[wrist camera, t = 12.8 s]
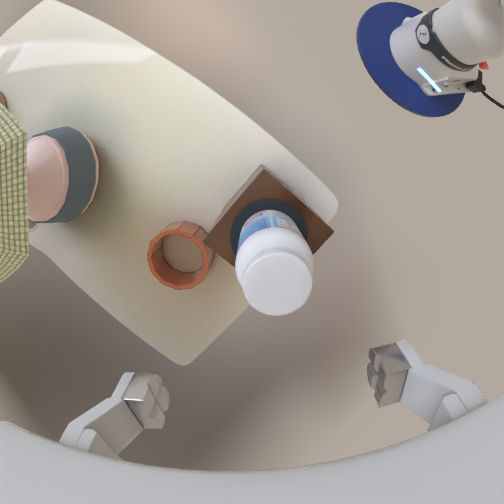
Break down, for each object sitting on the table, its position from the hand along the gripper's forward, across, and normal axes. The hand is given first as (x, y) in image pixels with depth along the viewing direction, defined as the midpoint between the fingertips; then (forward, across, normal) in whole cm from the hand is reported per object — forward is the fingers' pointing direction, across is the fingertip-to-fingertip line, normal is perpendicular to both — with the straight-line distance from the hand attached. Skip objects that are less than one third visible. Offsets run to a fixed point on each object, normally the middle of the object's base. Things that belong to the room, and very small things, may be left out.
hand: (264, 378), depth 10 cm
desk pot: (+40, +15, +6) cm, 43 cm away
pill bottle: (+20, -1, +1) cm, 20 cm away
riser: (+40, -1, +1) cm, 40 cm away
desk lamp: (+40, +36, -14) cm, 56 cm away
